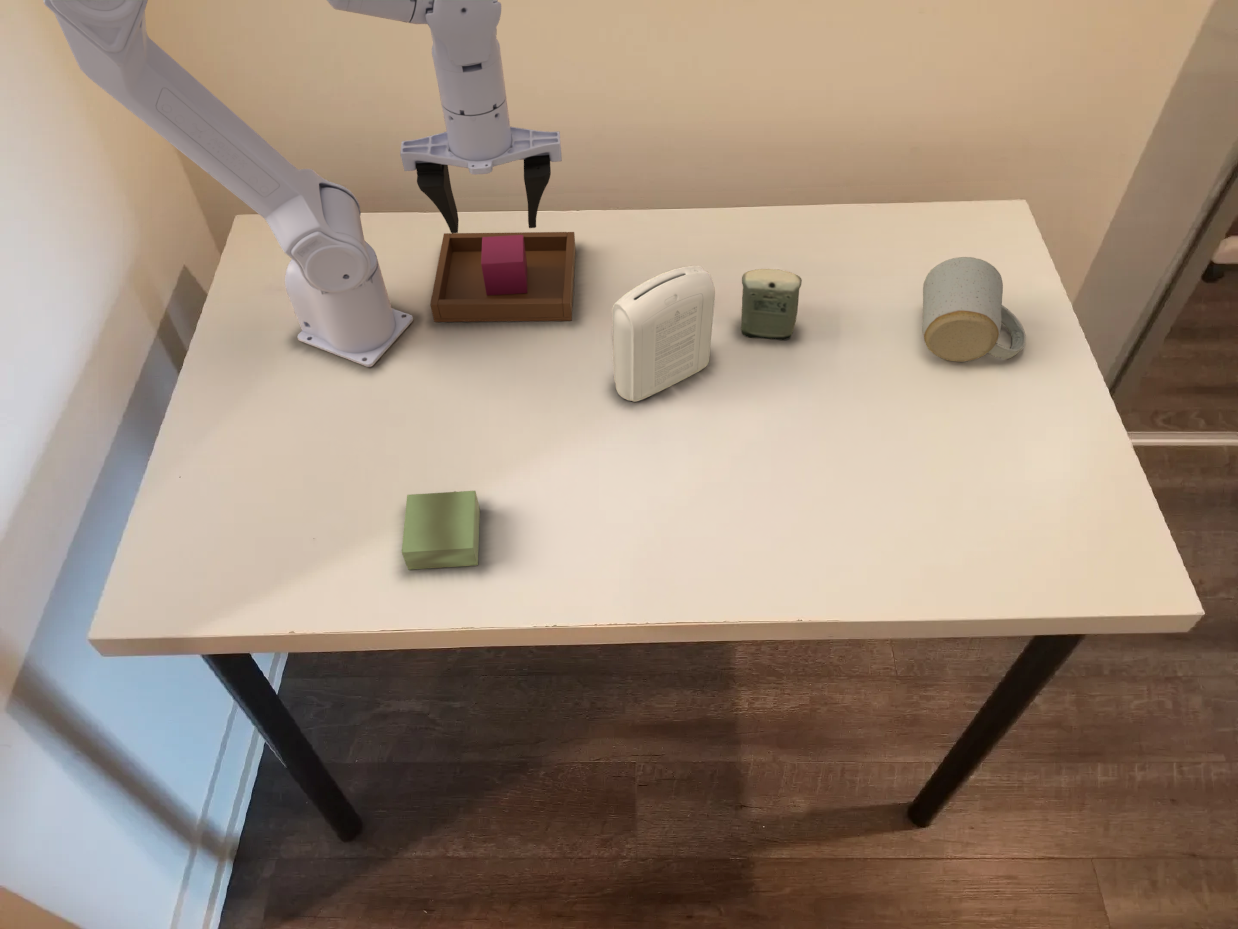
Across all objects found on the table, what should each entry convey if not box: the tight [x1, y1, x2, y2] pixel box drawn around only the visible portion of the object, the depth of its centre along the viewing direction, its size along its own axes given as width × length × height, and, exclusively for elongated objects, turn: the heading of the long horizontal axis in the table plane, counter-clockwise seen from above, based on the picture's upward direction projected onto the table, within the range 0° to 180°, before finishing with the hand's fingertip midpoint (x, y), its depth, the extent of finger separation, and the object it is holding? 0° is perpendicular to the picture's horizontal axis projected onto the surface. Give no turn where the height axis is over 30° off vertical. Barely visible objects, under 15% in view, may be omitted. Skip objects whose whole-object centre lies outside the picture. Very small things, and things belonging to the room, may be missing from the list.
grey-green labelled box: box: [740, 268, 803, 341], centre depth 94 cm, size 6×5×8 cm
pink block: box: [481, 235, 527, 295], centre depth 100 cm, size 4×4×4 cm
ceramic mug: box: [921, 256, 1027, 363], centre depth 92 cm, size 11×8×8 cm
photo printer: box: [611, 265, 716, 403], centre depth 89 cm, size 10×4×12 cm, turn 123°
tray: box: [429, 231, 577, 323], centre depth 101 cm, size 15×12×2 cm
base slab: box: [401, 490, 481, 571], centre depth 81 cm, size 6×6×3 cm
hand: (493, 224), depth 92 cm, fingers open, 7 cm apart
